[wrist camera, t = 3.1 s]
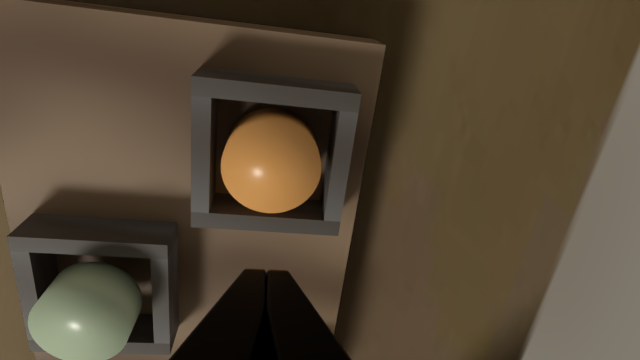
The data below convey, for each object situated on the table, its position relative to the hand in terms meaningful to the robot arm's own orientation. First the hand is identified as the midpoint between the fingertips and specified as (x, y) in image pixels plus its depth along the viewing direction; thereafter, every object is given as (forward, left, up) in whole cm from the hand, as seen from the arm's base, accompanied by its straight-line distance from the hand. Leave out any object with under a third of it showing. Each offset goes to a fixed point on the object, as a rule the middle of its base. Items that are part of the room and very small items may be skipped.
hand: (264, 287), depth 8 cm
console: (-6, +3, -10) cm, 12 cm away
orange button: (0, 0, -7) cm, 7 cm away
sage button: (-6, +6, -6) cm, 11 cm away
